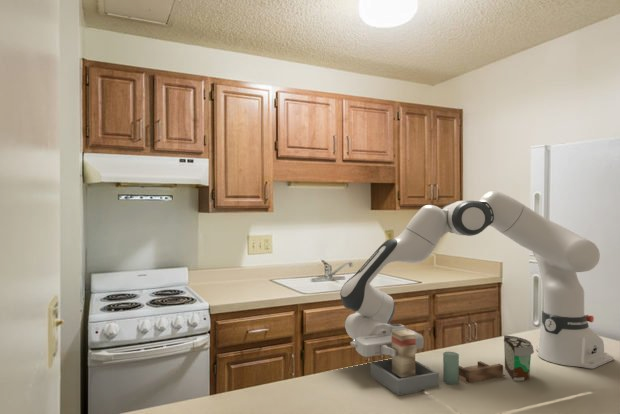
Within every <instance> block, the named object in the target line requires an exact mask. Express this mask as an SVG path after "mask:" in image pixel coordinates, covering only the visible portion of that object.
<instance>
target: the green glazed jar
mask: <svg viewBox="0 0 620 414" xmlns="http://www.w3.org/2000/svg"><path fill="white" fill-rule="evenodd" d="M459 366H460V355H459V353H457V352H456V351H455V352H454V351H444V352H443V353H442V373H443V374H442V381H443V383H444V384H447V385H452V386H455V385H458V384H459V383H460V380H459Z"/></svg>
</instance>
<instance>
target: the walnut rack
mask: <svg viewBox="0 0 620 414" xmlns="http://www.w3.org/2000/svg"><path fill="white" fill-rule="evenodd" d="M506 376H507V375H506V374H504V365H503V364H501V363H496V364H487V363H485V362H482V361H481V360H480V361H477V364H476V365H471V366H466V367H463V366H461V365H459V381H461V382H463V383H465V384H473V383H476V382H483V381H486V380H492V379H497V378H501V377H506Z"/></svg>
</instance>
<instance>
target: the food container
mask: <svg viewBox="0 0 620 414" xmlns="http://www.w3.org/2000/svg"><path fill="white" fill-rule="evenodd" d="M503 343H504V346H503V347H504V349H503V350H504V369H505V370H506V372H507V374H508V375H509V376H510V378H511V379H512V380H513V382H516V383H517V382H525V381H528V380H529V379H530V370H531V357H532V355H533V354H534V353H535V352H534V351H535V350H534V346H533V344H532V342H531V341H530V340H528V339H526V338H522V337H520V336H519V337H518V336H513V335H503Z"/></svg>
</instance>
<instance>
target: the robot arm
mask: <svg viewBox="0 0 620 414" xmlns="http://www.w3.org/2000/svg"><path fill="white" fill-rule="evenodd" d="M488 227H492V228H494V229H495V230H497V231H498V232H499V233H501V234H502V235H504V236H506V237H507V238H509V239H510V240H512V241H513V242H515V243H517V244H518V245H519V246H520V247H523V248H525V249H527V250H529V251H531V252H532V254H533V256H534V257H535V259H536V262H537V264H538V268H539V273H540V277H541V281H542V291H543V293H542V295H543V299H542V300H543V310H541V323H542V325H541V326H540V329H539V337H538V345H537V346H535V347H536V348H535V350H536V351H537V356H538V357H539V358H541V359H543V360H545V361H547V362H550V363H553V364H557V365H562V366H569V367H581V368H586V369H595V368H598V367H601V366H603V365H605V364H607V363H609V362H611V361H613V360H614V356H613V355H612V354H610V353H609V352H606V351H605V343H604V340H603V338H602V337H600V335H598V334H597V333H596V332H594V331H593V330H592V329H591V328H590V325H589V323H594V321H595V317H594V315H589V314H585V289H584V287H583V285H581V282H580V281H579V278H578V275H577V273H584V272H589V271H592V270H593V269H594V268H595V267H597V265H598V264H599V261H600V259H601V257H600V256H601V255H600V250H599V247H598V245H596V244H595V243H594V242H592V240H589V239H587V238H585V237H582V236H580V235H578V234H577V233H575V232H573V231H571V230H570V229H568V228H566V227H564V226H562V225H559V224H558V223H556V222H554V221H551V220H549V219H547V218H545V217H544V216H542V215H541V214H539V213H537V212H535V211H534V210H533V209H531V208H530V207H528V206H526V205H525V204H523V203H522V202H520V201H518V200H517V199H516V198H513V197H511V196H509V195H508V194H505V193H503V192H500V191H497V190H489V191H487V192H485V193H483V195H482V196H481V197H480V198H479V199H478V200H458V201H453V202H450V203H448V204H446V205H444V206H443V207H439V206H437V205H433V204H426V205H423V206H422V207H420V209H418V210H417V212H416V213H415V214H414V215H413V217H411V219H410V221H409V222H408V223H407V225H406V227H405V228H404V229H403V230H402V232H401V233H400V234H398V235H397V236H396V237H394V238H388V239H386V240H385V241H384V242H383V243H382V244H381V245H380V246H379V247H377V249H376V250H375V251H374V253H372V255H371V256H370V257H369V258H368V259H367V260H366V262H364V264H363V265H362V266H361V267H360V268H359V269H358V270H357V272H356V273H355V274H354V275H352V276H351V277H350V278H349V279H348V280H347V281H346V282H344V284H343V285H342V287H341V288H340V293H339V294H340V299H341V304H342V305H343V307H344V308H345V309H348V310H351V311H353V312H354V313H351V314H349V315H348V316H347V317H346V320H345V323H344V327H345V331H346V333H347V335H348V336H349V337H350V339H352V341H350V345H351V346H352V347H354V348H355V351H356V352H357V353H358V354H359V355H360V356H362V357H364V358H371V357H377V356H383V355H387V356H391V357H392V356H393V357H395V356H398V350H397V349H396V348H392V331H400V330H407V331H409V332H412V333H414V334H415V339H416V345H415V354H417V350H422V349H424V336H423V335H422V334H421V333H418V331H417V332H416V331H414V330H413V329H410V328H406V326H405V325H404V324H397V323H395V324H393V323H391V322H392V320H393V318H394V315H395V313H396V312H395V311H396V305H395V300H394V298H393V297H392V296H391V295H389V294H387V293H386V292H384V291H383V290H381V289H379V288H377V287H375V286H373V284H372V285H371V283H372V282H373V280H374V279H375V278H376V277H377V276H378V274H379V273H380V272H381V271H382V270H383V269H384V268H385V267H386V266H387V265H388V264H391V263H397V262H399V263H401V262H402V263H407V264H417V263H422V262H424V261H426V260H427V259H428V258H429V257H430V256H431V255H432V253H433V251H434V249H435V248H436V246H437V245H438V243H439V242H440V240H441V239H442V237H443V236H444V235H446V234H447V233H452V234H456V235H459V236H467V237H473V236H476V235H479V234H480V233H482V232H484V230H486V229H487V228H488Z"/></svg>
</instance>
